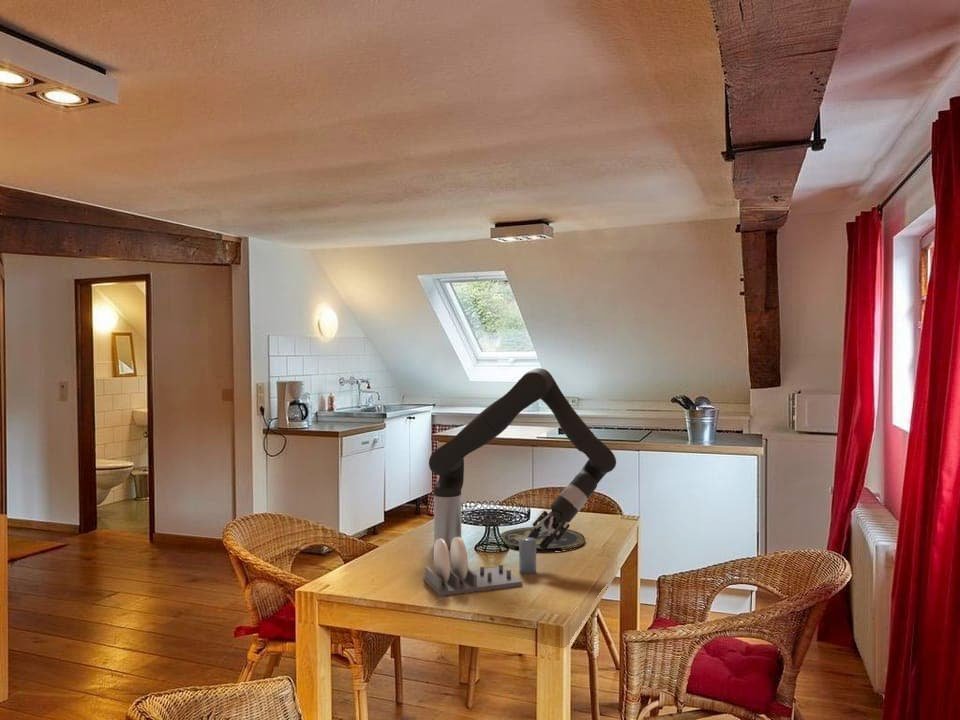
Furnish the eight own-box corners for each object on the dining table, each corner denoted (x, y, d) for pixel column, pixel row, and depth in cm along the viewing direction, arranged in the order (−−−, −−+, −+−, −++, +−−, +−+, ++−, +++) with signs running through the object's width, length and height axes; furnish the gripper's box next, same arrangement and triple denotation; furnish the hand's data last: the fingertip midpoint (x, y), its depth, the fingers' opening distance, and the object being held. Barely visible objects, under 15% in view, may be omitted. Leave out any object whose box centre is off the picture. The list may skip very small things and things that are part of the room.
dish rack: (423, 580, 204) (423, 534, 204) (501, 570, 213) (501, 526, 213) (439, 596, 190) (439, 547, 190) (522, 585, 199) (522, 538, 199)
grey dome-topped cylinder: (516, 570, 214) (516, 538, 214) (531, 568, 215) (531, 536, 215) (523, 574, 209) (523, 542, 209) (539, 572, 211) (539, 540, 211)
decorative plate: (560, 523, 266) (601, 542, 238) (560, 528, 266) (601, 547, 238) (485, 531, 256) (519, 552, 228) (485, 536, 256) (519, 558, 228)
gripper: (550, 490, 223) (517, 530, 219) (572, 499, 209) (537, 542, 205) (565, 506, 225) (532, 546, 221) (588, 515, 211) (554, 558, 207)
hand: (535, 544), depth 213 cm, fingers open, 8 cm apart
